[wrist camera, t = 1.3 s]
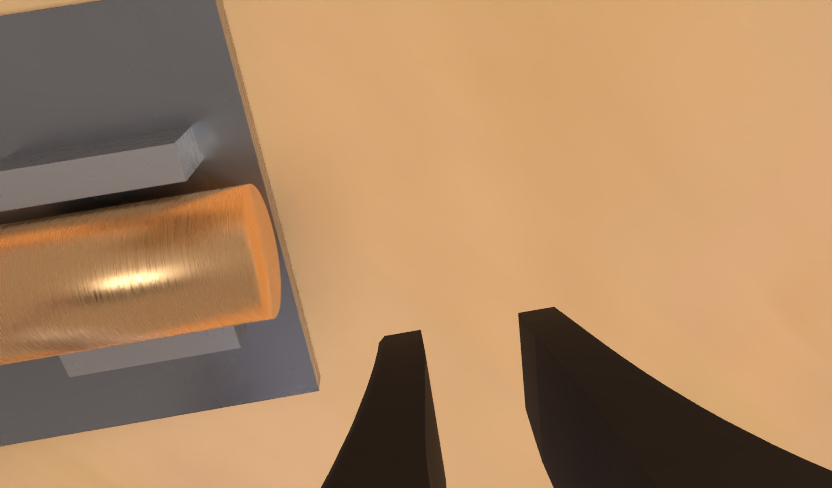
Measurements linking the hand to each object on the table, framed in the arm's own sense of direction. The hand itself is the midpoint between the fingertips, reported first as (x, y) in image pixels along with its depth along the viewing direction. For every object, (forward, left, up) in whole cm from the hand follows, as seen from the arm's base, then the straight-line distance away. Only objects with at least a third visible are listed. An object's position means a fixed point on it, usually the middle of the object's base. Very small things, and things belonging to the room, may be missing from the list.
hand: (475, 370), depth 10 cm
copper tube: (0, +12, -8) cm, 15 cm away
